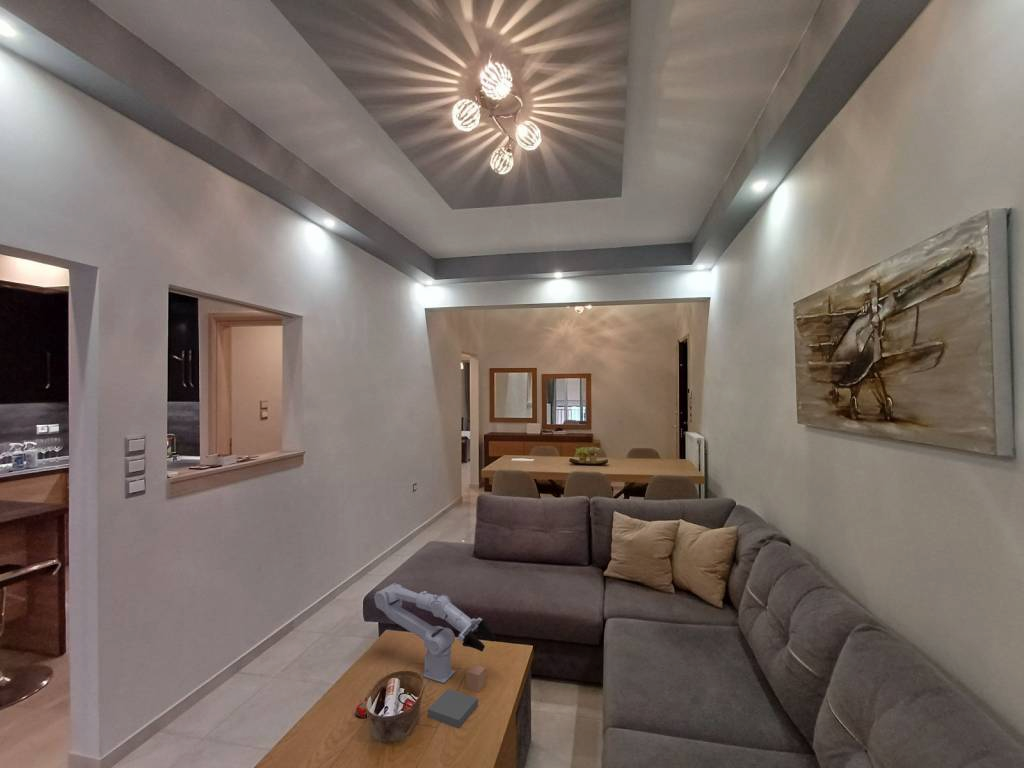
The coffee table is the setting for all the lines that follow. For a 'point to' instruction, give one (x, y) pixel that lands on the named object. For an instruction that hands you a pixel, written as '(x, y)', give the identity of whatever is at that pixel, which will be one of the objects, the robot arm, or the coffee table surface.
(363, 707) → the race car
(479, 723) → the coffee table surface
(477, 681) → the terracotta block
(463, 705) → the charcoal flat pad
